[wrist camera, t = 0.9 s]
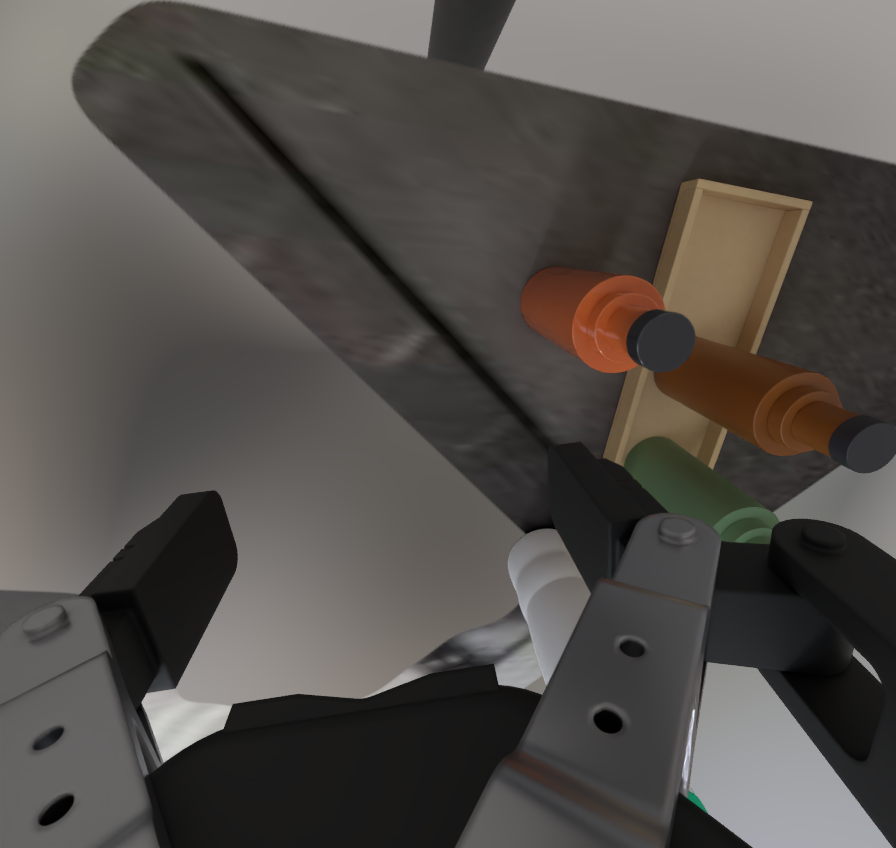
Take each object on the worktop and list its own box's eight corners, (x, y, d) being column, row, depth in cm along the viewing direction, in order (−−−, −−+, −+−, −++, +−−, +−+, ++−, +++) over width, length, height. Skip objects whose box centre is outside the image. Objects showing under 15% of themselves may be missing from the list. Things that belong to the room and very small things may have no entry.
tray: (681, 182, 36) (699, 178, 34) (789, 204, 37) (813, 201, 35) (590, 500, 45) (599, 512, 43) (680, 509, 46) (693, 522, 44)
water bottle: (507, 590, 48) (607, 918, 25) (504, 529, 45) (612, 831, 22) (576, 581, 48) (740, 895, 25) (577, 520, 46) (759, 807, 22)
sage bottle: (615, 452, 43) (747, 580, 27) (671, 426, 43) (840, 538, 26) (633, 499, 45) (767, 645, 28) (687, 474, 45) (855, 608, 28)
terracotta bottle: (509, 286, 38) (592, 316, 21) (572, 253, 37) (707, 259, 21) (535, 347, 40) (630, 418, 23) (595, 317, 39) (735, 368, 23)
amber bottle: (644, 353, 40) (813, 428, 24) (705, 324, 40) (920, 379, 23) (663, 408, 42) (831, 512, 26) (721, 380, 42) (930, 468, 25)
